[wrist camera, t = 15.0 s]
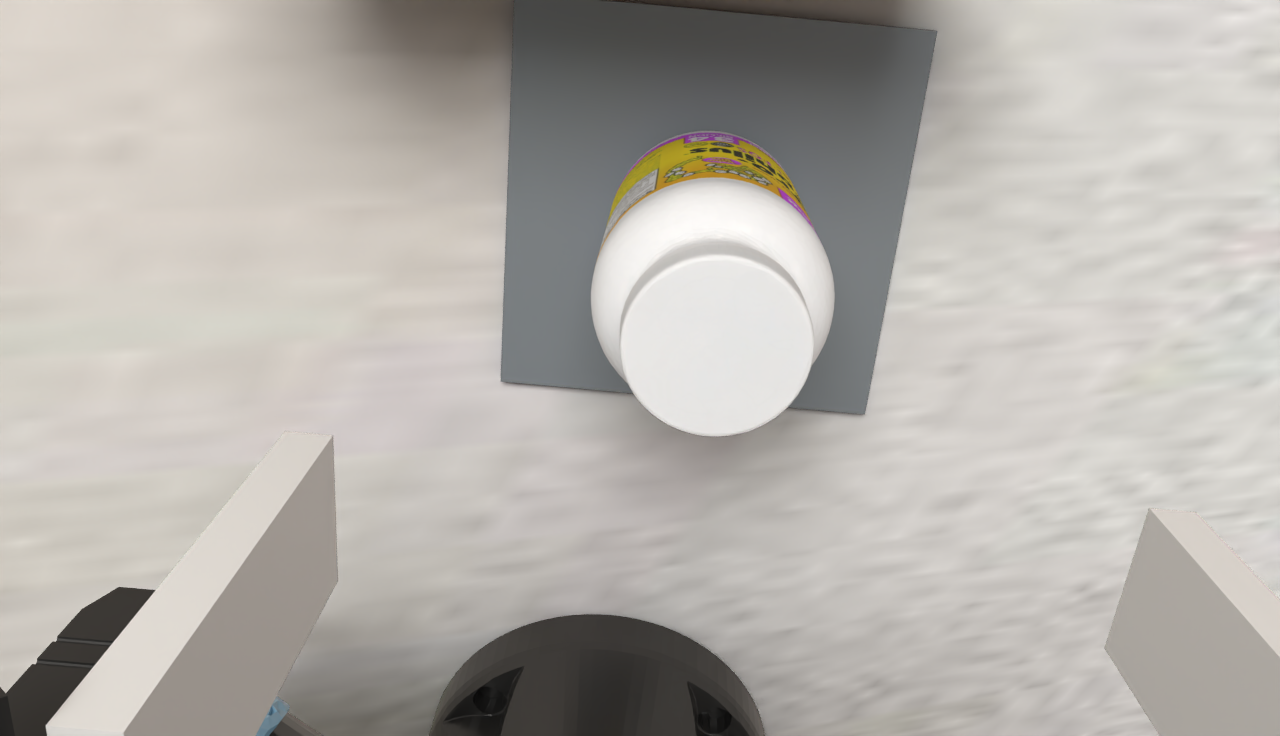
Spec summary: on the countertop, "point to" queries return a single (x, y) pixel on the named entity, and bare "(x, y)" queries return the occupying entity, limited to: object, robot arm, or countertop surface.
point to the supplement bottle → (711, 285)
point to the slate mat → (688, 102)
